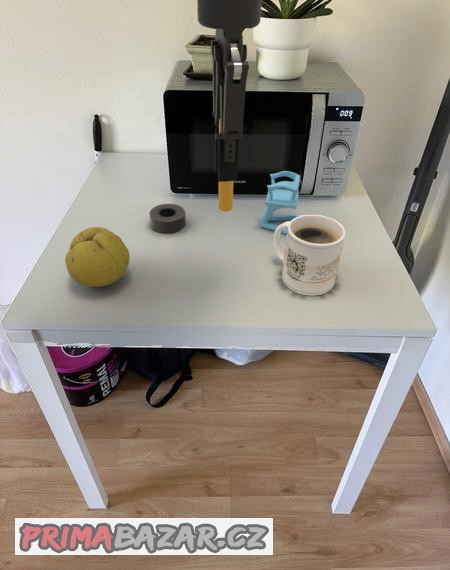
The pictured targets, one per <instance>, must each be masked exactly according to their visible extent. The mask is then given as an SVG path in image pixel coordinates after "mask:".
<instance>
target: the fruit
mask: <svg viewBox="0 0 450 570" xmlns="http://www.w3.org/2000/svg"><path fill="white" fill-rule="evenodd" d="M68 248H69V249H68V251H67V253H66V254H65V259H64V261H65V266H66V270H67V273H68V274H69V276H70V277H71V278H72V280H74V282H77V283H78V284H80V285H82V286H85V287H88V288H89V287H90V288H99V287H106V286H108V285H112V284H113V283H115V282H117V281H118V280H120V279H122V277H123V276H124V275H125V273H126V271H127V270H128V267H129V265H130V251H129V249H128V247H127V246H126V244H125V242H124V241H123V239H122V238H121V237H120V236H119V235H118V234H116V233H114V232H113V231H111V230H109V229H107V228H105V227H101V226H92V227H89V228H86V229H83V230H81V231H79V232H78V233H77V234H76V235H75V236H74V237H73V239H72V240H71V242H70V245H69V247H68Z"/></svg>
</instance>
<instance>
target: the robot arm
mask: <svg viewBox="0 0 450 570" xmlns="http://www.w3.org/2000/svg"><path fill="white" fill-rule="evenodd" d="M262 1H263V0H197V6H196V7H197V21H198V24H199V25H201V26H202V27H204V28H207V29H214V30H215V35H214V37H215V39H213V40H212V39H211V41H210V53H211V59H212V61H211V62H212V66H211V67H212V68H211V70H212V71H211V72H212V116H213V118H214V125H215V129H214V131H215V132H214V140H215V141H214V142H215V143H214V144H215V145H214V148H215V149H214V151H215V153H214V155H215V156H214V159H215V160H214V164H215V165H214V167H215V168H214V172H215V174H217V180H218V183H219V182H224V181H233V182H237V181H238V169H239V167H238V165H239V140H241V139H243V136H244V132H243V131H244V117H245V106H246V104H245V103H246V102H245V101H246V90H247V80H248V75H249V74H248V73H249V70H250V65H249V61H248V60H247V59H248V45H247V44H244V36H243V32H244V31H245V30H246V29H249V30H250V29H253V28H257V27H258V26H259V25H260V24H261V19H262V18H261V16H262V15H261V14H262ZM219 119H220V133H219ZM217 127H218V128H217Z"/></svg>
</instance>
